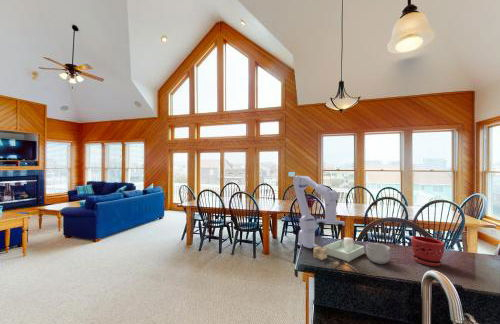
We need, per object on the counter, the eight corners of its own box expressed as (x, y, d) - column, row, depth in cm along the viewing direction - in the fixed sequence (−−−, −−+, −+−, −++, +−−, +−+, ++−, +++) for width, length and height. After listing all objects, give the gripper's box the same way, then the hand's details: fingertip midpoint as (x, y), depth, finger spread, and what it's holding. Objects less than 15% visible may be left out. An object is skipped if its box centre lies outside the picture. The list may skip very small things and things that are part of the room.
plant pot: (431, 269, 104) (431, 244, 104) (405, 258, 117) (405, 236, 117) (451, 266, 107) (450, 242, 108) (423, 256, 120) (423, 234, 121)
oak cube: (313, 257, 116) (313, 247, 117) (318, 255, 120) (318, 246, 120) (321, 260, 113) (321, 250, 113) (326, 258, 116) (326, 248, 116)
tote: (323, 253, 122) (323, 246, 122) (340, 246, 134) (340, 240, 134) (348, 261, 111) (348, 253, 111) (364, 253, 123) (364, 246, 123)
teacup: (389, 268, 105) (388, 251, 105) (364, 262, 111) (364, 246, 112) (391, 259, 116) (391, 244, 116) (368, 254, 122) (368, 239, 123)
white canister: (342, 250, 126) (342, 238, 126) (346, 248, 129) (346, 236, 129) (350, 253, 122) (350, 240, 122) (355, 251, 125) (355, 239, 125)
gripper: (316, 212, 120) (316, 237, 119) (345, 214, 114) (345, 240, 114) (317, 210, 126) (317, 234, 125) (344, 212, 121) (344, 237, 120)
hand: (330, 237), depth 120 cm, fingers open, 7 cm apart
